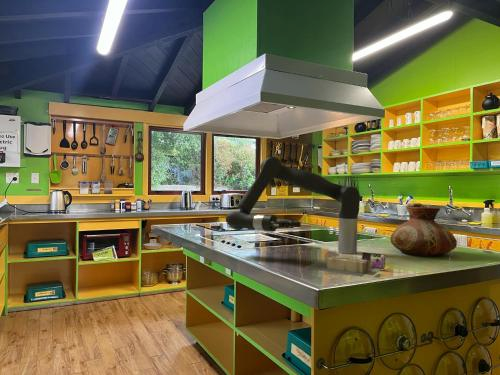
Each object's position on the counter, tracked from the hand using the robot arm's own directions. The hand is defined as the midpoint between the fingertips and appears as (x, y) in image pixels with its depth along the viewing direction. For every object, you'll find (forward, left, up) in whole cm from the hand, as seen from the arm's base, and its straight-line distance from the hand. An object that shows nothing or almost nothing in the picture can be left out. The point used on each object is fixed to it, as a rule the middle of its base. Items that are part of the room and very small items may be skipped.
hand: (300, 224), depth 160 cm
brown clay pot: (-61, +38, -17) cm, 74 cm away
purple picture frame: (-10, +28, -17) cm, 35 cm away
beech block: (0, +14, -14) cm, 20 cm away
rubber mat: (0, +18, -17) cm, 24 cm away
